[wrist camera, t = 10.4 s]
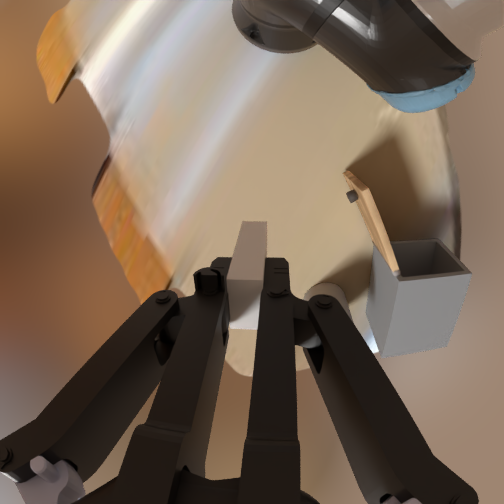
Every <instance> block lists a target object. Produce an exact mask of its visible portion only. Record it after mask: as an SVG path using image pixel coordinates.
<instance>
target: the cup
mask: <svg viewBox="0 0 504 504" xmlns="http://www.w3.org/2000/svg"><path fill="white" fill-rule="evenodd" d="M318 294H326V295H331V296H333V297H335V298H336V299H337V300H338V301H339V302H340V304H341V305H342V307H343V308H344V310H345V311H346V313H347V314H348V316H349V317H350V319H351V320H352V316H351V313H350V310H349V307H348V303H347V300H346V297H345V294H344V292H343V290H342V289H341V288H340V287H339V286H338V285H335V284H332V283H320V284H317V285H315V286H313V287H311V288H310V289H309V290H308V291H307V292H306V293H305V296H304V299H303V300H306V301H309V299H310V298H311V297H313V296H315V295H318ZM352 322H353V320H352Z"/></svg>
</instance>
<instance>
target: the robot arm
mask: <svg viewBox="0 0 504 504" xmlns="http://www.w3.org/2000/svg"><path fill="white" fill-rule="evenodd" d="M232 14H233V19H234V21H235V24H236V26H237V28H238V30H239V31H240V33H241V34H242V35H243V36H244V37H245V38H246V39H247V40H248V41H249V42H251V43H252V44H254V45H255V46H257V47H259V48H261V49H264V50H267V51H271V52H275V53H296V52H301V51H304V50H307V49H310V48H312V47H313V46H315V45H317V44H319V45H321V46H322V47H323V48H325V49H326V50H327V51H329V52H330V53H331V54H332V55H334V56H335V57H336V58H338V59H339V60H340V61H341V62H342V63H344V64H345V65H346V66H347V67H349V68H350V69H351V70H352V71H353V72H354V73H356V74H357V75H358V76H359V77H360V78H361V79H362V80H364V81H365V82H366V84H367V86H368V87H369V88H370V89H371V90H372V91H374V92H375V93H377V94H379V95H380V96H381V97H382V98H383V99H384V100H386V101H387V102H388V103H389V104H390V105H391V106H392V107H394V108H396V109H398V110H400V111H403V112H408V113H419V112H425V111H429V110H432V109H435V108H438V107H440V106H442V105H445V104H447V103H448V102H450V101H452V100H453V99H455V98H456V97H457V93H459V92H463V91H465V90H466V89H467V88H468V87H469V86H470V84H471V83H472V81H473V79H474V75H475V68H474V64H473V63H474V62H475V61H478V60H479V59H480V58H481V54H482V41H483V38H484V37H486V36H487V35H489V34H491V33H493V32H495V31H497V30H498V29H500V28H502V27H504V0H233V4H232ZM193 276H194V283H195V290H196V291H195V293H194V295H192V296H188V297H183V298H178V296H177V294H176V293H175V292H173V291H171V290H161V291H158V292H155V293H154V294H152V295H151V296H150V297H149V298H148V299H147V300H146V301H145V302H144V303H143V304H142V305H141V306H140V307H139V308H138V309H137V310H136V311H135V312H134V313H133V314H132V315H131V316H130V317H129V318H128V319H127V320H126V321H125V322H124V323H123V324H122V325H121V326H120V327H119V329H118V330H117V331H116V332H115V333H114V334H113V335H112V336H111V337H110V338H109V339H108V340H107V341H106V342H105V343H104V344H103V345H102V346H101V348H99V350H98V351H97V352H96V353H95V354H94V355H93V356H92V357H91V358H90V359H89V360H88V361H87V362H86V363H85V364H84V366H83V367H82V368H81V369H80V370H79V371H78V372H77V373H76V374H75V375H74V376H73V377H72V378H71V380H70V381H69V382H68V383H67V384H66V385H65V386H64V387H63V389H62V390H61V391H60V392H59V393H58V394H57V395H56V396H55V397H54V399H53V400H52V401H51V402H50V403H49V404H48V405H47V406H46V408H45V409H44V410H43V411H42V412H41V413H40V415H39V416H38V417H37V418H36V419H35V420H33V421H32V422H30V423H28V424H27V425H25V426H23V427H22V428H20V429H18V430H17V431H15V432H13V433H12V434H10V435H8V436H7V437H5V438H4V439H2V440H0V472H1V473H3V474H4V475H5V476H7V477H8V478H10V479H11V480H13V482H15V484H16V486H17V487H18V489H19V492H20V494H21V495H22V498H23V499H24V501H25V503H26V504H320V503H319V502H318V501H317V500H315V499H314V498H313V497H311V496H310V495H309V494H307V493H305V492H304V491H302V490H300V444H299V440H298V435H297V394H296V364H295V345H298V346H302V347H303V351H304V354H305V356H306V359H307V361H308V363H309V366H310V368H311V370H312V373H313V375H314V378H315V380H316V383H317V385H318V388H319V390H320V392H321V395H322V397H323V400H324V402H325V404H326V407H327V409H328V412H329V414H330V417H331V419H332V421H333V424H334V426H335V429H336V431H337V434H338V436H339V439H340V441H341V444H342V446H343V448H344V451H345V453H346V456H347V458H348V461H349V463H350V466H351V468H352V471H353V473H354V476H355V478H356V480H357V483H358V486H359V488H360V490H361V492H362V494H363V496H364V498H365V500H366V501H367V503H368V504H478V502H479V500H478V496H477V493H476V491H475V490H474V489H473V488H472V487H471V486H469V485H468V484H467V483H466V482H465V481H464V480H462V479H461V478H460V477H459V476H458V475H456V474H455V473H454V472H453V471H451V470H450V469H449V468H448V467H447V466H446V465H444V464H443V463H442V462H441V461H440V460H438V459H437V458H436V457H435V456H434V455H433V454H432V452H431V450H430V448H429V446H428V445H427V443H426V441H425V439H424V438H423V436H422V434H421V432H420V431H419V429H418V427H417V425H416V424H415V422H414V420H413V418H412V417H411V415H410V413H409V412H408V410H407V408H406V407H405V405H404V403H403V401H402V400H401V398H400V396H399V395H398V393H397V392H396V390H395V388H394V387H393V385H392V384H391V382H390V380H389V378H388V377H387V375H386V374H385V372H384V370H383V369H382V367H381V366H380V364H379V362H378V361H377V359H376V358H375V356H374V354H373V353H372V351H371V350H370V348H369V347H368V345H367V343H366V342H365V340H364V339H363V337H362V336H361V334H360V333H359V331H358V330H357V328H356V326H355V325H354V323H353V322H352V320H351V319H350V317H349V316H348V314H347V313H346V311H345V310H344V308H343V307H342V305H341V304H340V302H339V301H338V300H337V299H336V298H335V297H333V296H331V295H326V294H318V295H315V296H313V297H311V298H310V299H309V301H306V300H302V299H299V298H297V297H295V296H294V295H293V294H292V293H291V290H290V278H289V264H288V262H287V261H286V259H285V258H267V222H247V221H243V222H242V225H241V229H240V232H239V236H238V239H237V243H236V246H235V250H234V253H233V257H232V258H231V257H217V258H216V259H215V260H214V261H213V262H212V264H211V266H210V267H207V268H202V269H199V270H198V271H196V272H195V273H194V274H193ZM229 322H230V328H231V329H254V330H257V339H256V350H255V360H254V370H253V381H252V390H251V400H250V410H249V420H248V429H247V437H246V440H245V443H244V450H243V459H242V468H241V477H240V478H232V479H223V480H209V479H206V478H205V459H206V454H207V449H208V444H209V438H210V433H211V427H212V422H213V417H214V412H215V406H216V401H217V396H218V391H219V385H220V379H221V375H222V369H223V364H224V359H225V354H226V349H227V344H228V338H229V331H228V327H229ZM160 381H161V382H160ZM159 382H160V385H159V387H158V390H157V393H156V395H155V399H154V401H153V404H152V407H151V410H150V413H149V415H148V418H147V420H146V422H145V423H144V424H140V425H138V426H137V427H136V428H135V430H134V432H133V434H132V437H131V440H130V442H129V445H128V448H127V451H126V454H125V457H124V460H123V463H122V466H121V469H120V471H119V474H118V476H117V477H115V478H114V479H112V480H111V481H109V482H107V483H106V484H104V485H103V486H101V487H99V488H97V489H96V490H94V491H93V492H91V493H89V494H87V495H86V496H85V490H84V488H83V482H85V481H86V480H88V479H89V478H90V477H91V476H92V475H93V474H94V473H95V472H96V471H97V470H98V468H99V467H100V466H101V465H102V463H103V462H104V461H105V459H106V458H107V456H108V455H109V454H110V452H111V451H112V449H113V448H114V446H115V445H116V444H117V442H118V441H119V439H120V438H121V436H122V435H123V434H124V432H125V431H126V429H127V428H128V426H129V425H130V423H131V422H132V421H133V419H134V418H135V417H136V415H137V414H138V412H139V411H140V409H141V408H142V407H143V405H144V404H145V402H146V401H147V399H148V398H149V397H150V395H151V394H152V392H153V391H154V389H155V388H156V387H157V385H158V384H159Z"/></svg>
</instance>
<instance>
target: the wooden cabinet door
mask: <svg viewBox="0 0 504 504" xmlns="http://www.w3.org/2000/svg"><path fill="white" fill-rule="evenodd" d="M343 175H344V177H345V179H346V181H347V183H348V185H349V187H350V189H351V191H349V192H347V193H346V195H347V197H348V199H349V201H350V202H351V203H352V202H354V201H356V203H357V205H358V207H359V209H360V212H361V214H362V216H363V219H364V221H365V223H366V226H367V228H368V231H369V233H370V235H371V238H372V242H373V244H374V245H375V247H376V248H377V250H378V251H379V253H380V254H381V256H382V258H383V259H384V261H385V262H386V264H387V265H388V267H389V269H390V270H391V272H392V274H393V275H394V276H395V277H397V276H399V275H400V273H401V272H400V270H399V267H398V264H397V261H396V258H395V255H394V252H393V249H392V247H391V244H390V241H389V238H388V235H387V233H386V230H385V227H384V225H383V222H382V219H381V217H380V214H379V212H378V209H377V207H376V204H375V202H374V199H373V197H372V195H371V192H370V190H369V188H368V187H367V186H366V185H365V184H364V183H362V182H361V181H360V180H359V179H358V178H357V177H355V176H354V175H353V174H352V173H351V172H350V171H346V172H344V173H343Z"/></svg>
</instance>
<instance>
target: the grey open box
mask: <svg viewBox="0 0 504 504" xmlns="http://www.w3.org/2000/svg"><path fill="white" fill-rule="evenodd" d="M390 244H391V247H392V249H393V252H394V255H395V258H396V261H397V264H398V267H399V270H400V272H401V273H400V275H399V276H397V277H395V276H394V275H393V274H392V272H391V270H390V269H389V267H388V265H387V264H386V262H385V261H384V259H383V258H382V256H381V254H380V253H379V251H378V250H377V248H376V247H375V245H374V248H373V258H372V268H371V277H370V285H369V293H368V300H367V307H366V315H367V318H368V321H369V323H370V326H371V329H372V332H373V335H374V338H375V341H376V344H377V346H378V349H379V352H380V355H381V358H386V357H392V356H399V355H404V354H411V353H416V352H421V351H427V350H432V349H436V348H441V347H445V346H447V345H448V342H449V340H450V337H451V335H452V332H453V330H454V327H455V324H456V322H457V319H458V316H459V313H460V311H461V308H462V305H463V302H464V299H465V296H466V292H467V289H468V286H469V282H470V279H471V275H472V273H471V272H470V271H469V270H468V268H467V267H466V266H465V265H464V264H463V263H462V262H461V261H460V260H459V259H458V258H457V257H456V256H455V255H454V254H453V253H452V252H451V251H450V250H449V249H448V248H447V247H446V246H445V245H444V244H443V243H442V242H441V241H440V240H439V239H425V240H407V241H390Z"/></svg>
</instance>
